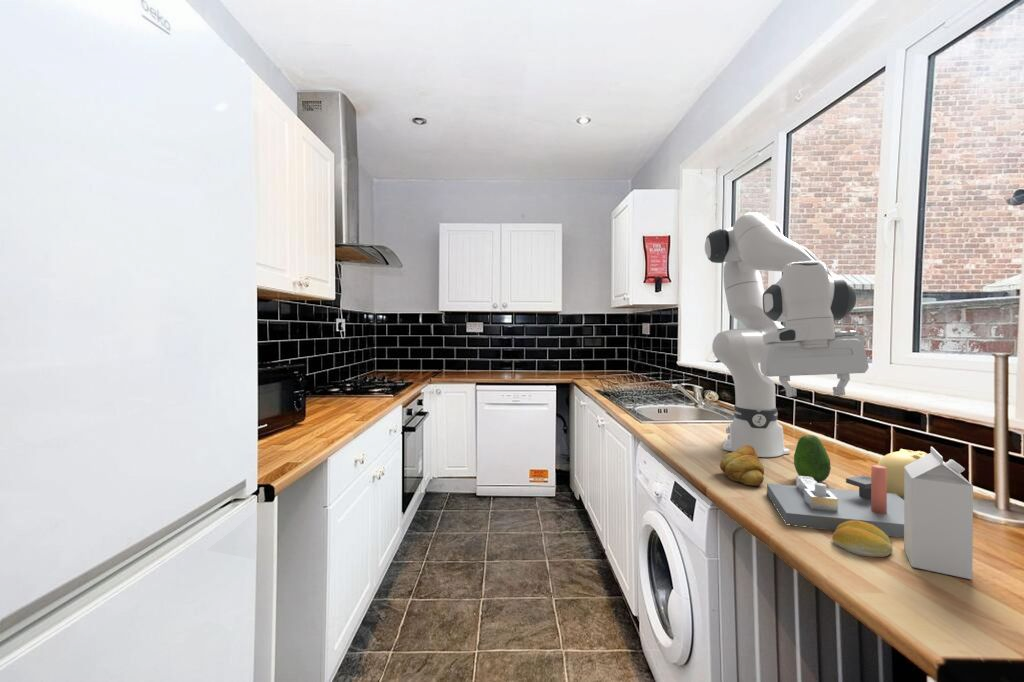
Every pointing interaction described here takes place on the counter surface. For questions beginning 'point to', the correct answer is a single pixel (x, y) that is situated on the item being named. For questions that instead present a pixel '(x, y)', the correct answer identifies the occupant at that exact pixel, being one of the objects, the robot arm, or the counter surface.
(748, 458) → the bread roll
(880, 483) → the peg
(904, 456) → the sculpture
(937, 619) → the counter surface
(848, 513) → the board
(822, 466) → the avocado
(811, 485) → the link
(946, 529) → the milk carton
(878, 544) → the bread roll
